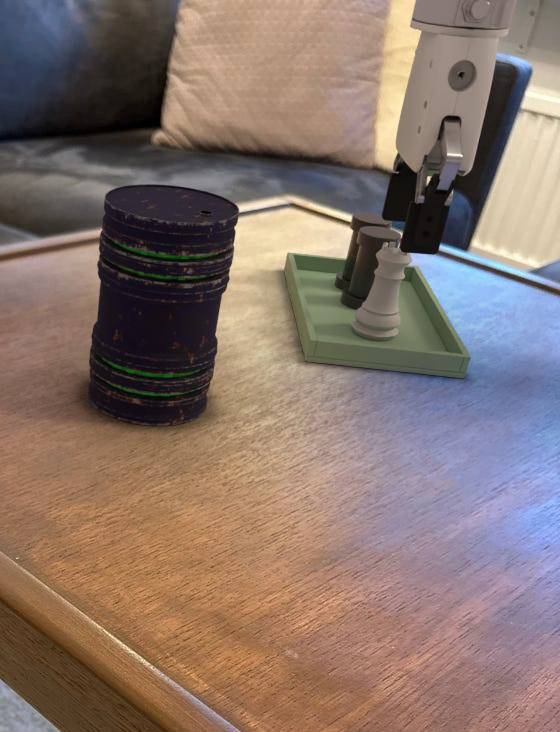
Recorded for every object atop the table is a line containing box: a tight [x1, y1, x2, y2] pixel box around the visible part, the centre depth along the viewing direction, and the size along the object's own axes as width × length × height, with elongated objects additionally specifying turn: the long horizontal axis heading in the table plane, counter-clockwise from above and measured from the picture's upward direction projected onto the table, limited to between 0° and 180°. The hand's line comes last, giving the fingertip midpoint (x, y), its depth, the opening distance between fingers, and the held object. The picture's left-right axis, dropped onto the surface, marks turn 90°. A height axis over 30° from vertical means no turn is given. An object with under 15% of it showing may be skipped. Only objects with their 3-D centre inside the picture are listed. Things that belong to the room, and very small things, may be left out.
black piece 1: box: [334, 211, 393, 290], centre depth 101 cm, size 4×4×7 cm
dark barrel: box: [87, 183, 240, 427], centre depth 74 cm, size 10×10×15 cm
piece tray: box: [283, 251, 472, 379], centre depth 97 cm, size 14×25×2 cm, turn 175°
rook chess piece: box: [351, 242, 413, 341], centre depth 91 cm, size 4×4×8 cm
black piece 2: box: [340, 226, 402, 310], centre depth 97 cm, size 4×4×7 cm
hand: (407, 235), depth 88 cm, fingers open, 9 cm apart
